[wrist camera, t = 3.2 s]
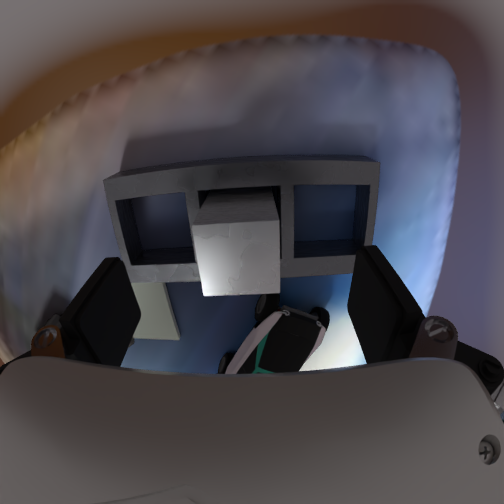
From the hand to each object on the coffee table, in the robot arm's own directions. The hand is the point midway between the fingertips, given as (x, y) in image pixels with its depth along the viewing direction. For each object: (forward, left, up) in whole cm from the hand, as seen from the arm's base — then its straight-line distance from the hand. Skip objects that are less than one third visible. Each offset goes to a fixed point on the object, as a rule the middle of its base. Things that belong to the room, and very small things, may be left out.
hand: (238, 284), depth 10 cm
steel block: (-1, 0, -10) cm, 10 cm away
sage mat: (-9, +11, -10) cm, 17 cm away
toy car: (-13, -1, -10) cm, 17 cm away
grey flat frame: (-1, 0, -10) cm, 10 cm away
